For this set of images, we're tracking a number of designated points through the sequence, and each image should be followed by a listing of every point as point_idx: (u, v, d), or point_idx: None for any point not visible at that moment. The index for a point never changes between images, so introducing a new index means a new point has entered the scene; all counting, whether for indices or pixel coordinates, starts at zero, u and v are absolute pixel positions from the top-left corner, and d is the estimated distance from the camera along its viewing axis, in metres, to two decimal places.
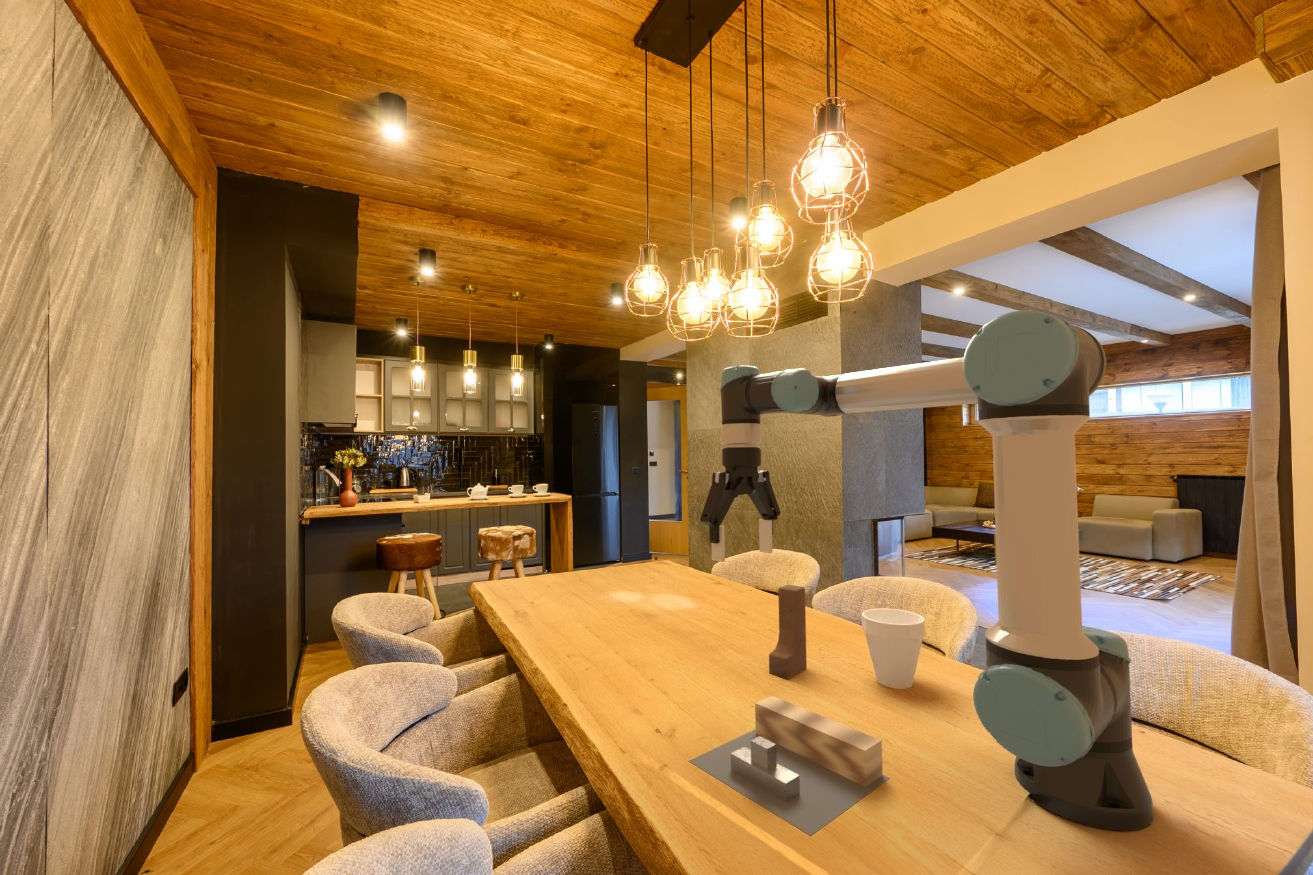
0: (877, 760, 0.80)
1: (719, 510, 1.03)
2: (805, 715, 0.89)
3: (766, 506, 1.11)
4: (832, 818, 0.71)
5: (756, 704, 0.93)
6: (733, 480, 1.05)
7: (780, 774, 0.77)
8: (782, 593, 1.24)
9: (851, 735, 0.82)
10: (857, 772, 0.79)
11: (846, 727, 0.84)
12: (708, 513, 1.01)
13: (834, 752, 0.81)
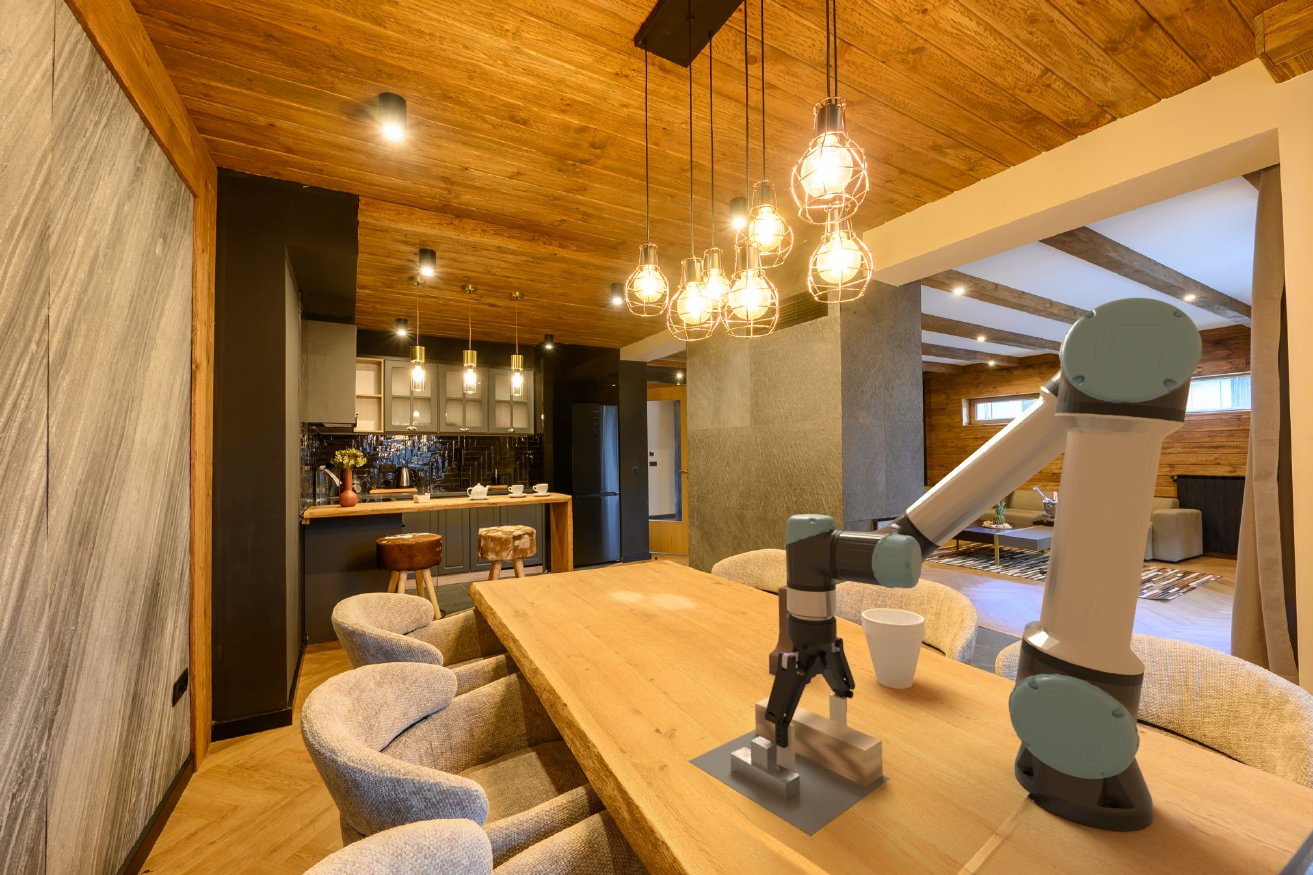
0: (877, 760, 0.80)
1: (787, 703, 0.82)
2: (805, 715, 0.89)
3: (840, 683, 0.90)
4: (832, 818, 0.71)
5: (756, 704, 0.93)
6: (804, 662, 0.84)
7: (780, 774, 0.77)
8: (782, 593, 1.24)
9: (851, 735, 0.82)
10: (857, 772, 0.79)
11: (846, 727, 0.84)
12: (775, 712, 0.81)
13: (834, 752, 0.81)
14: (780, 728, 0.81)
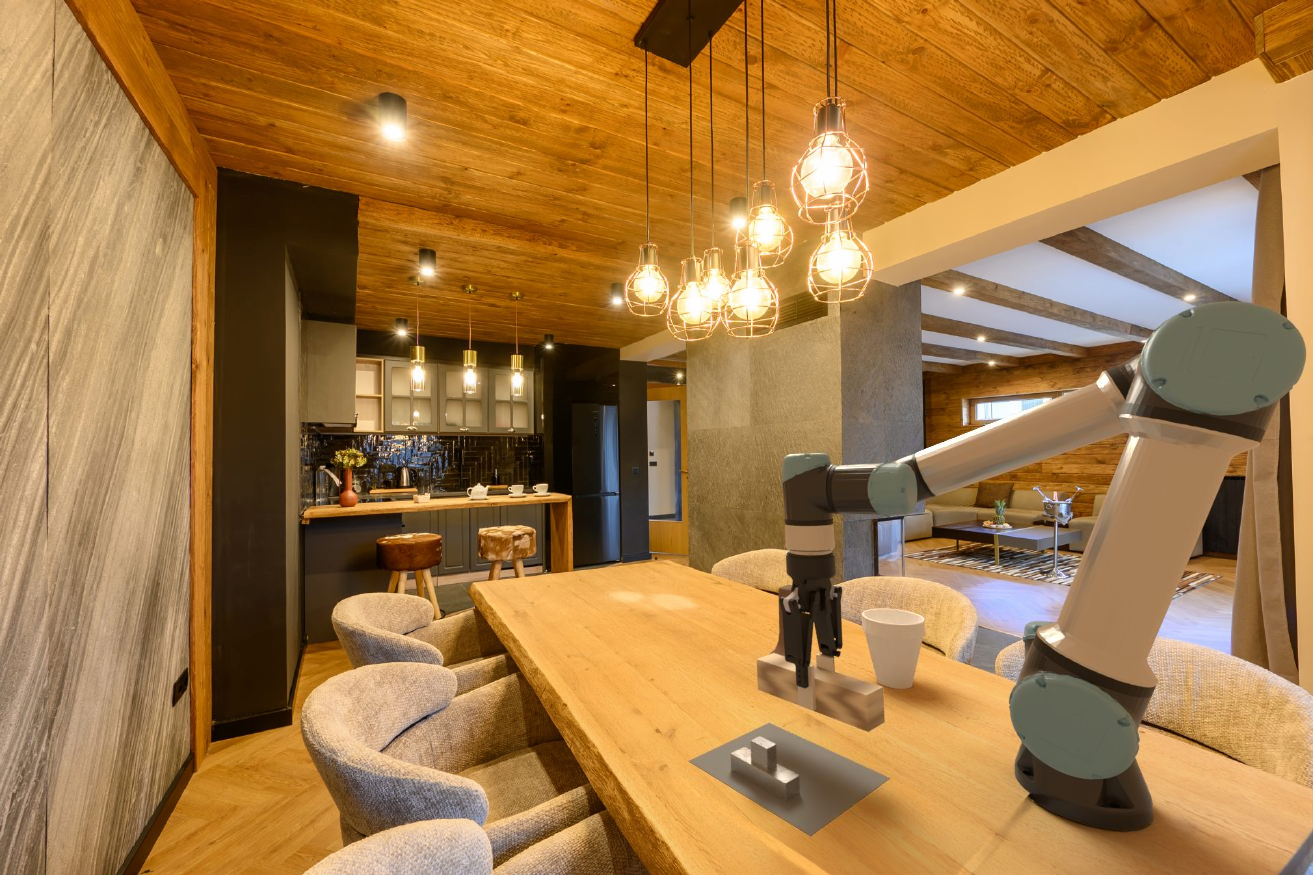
0: (879, 706, 0.80)
1: (802, 645, 0.85)
2: None
3: (830, 635, 0.88)
4: (832, 818, 0.71)
5: (758, 660, 0.93)
6: (805, 597, 0.85)
7: (780, 774, 0.77)
8: (782, 593, 1.24)
9: (852, 683, 0.82)
10: (859, 718, 0.79)
11: (847, 677, 0.84)
12: (793, 654, 0.83)
13: (836, 700, 0.81)
14: (800, 669, 0.84)
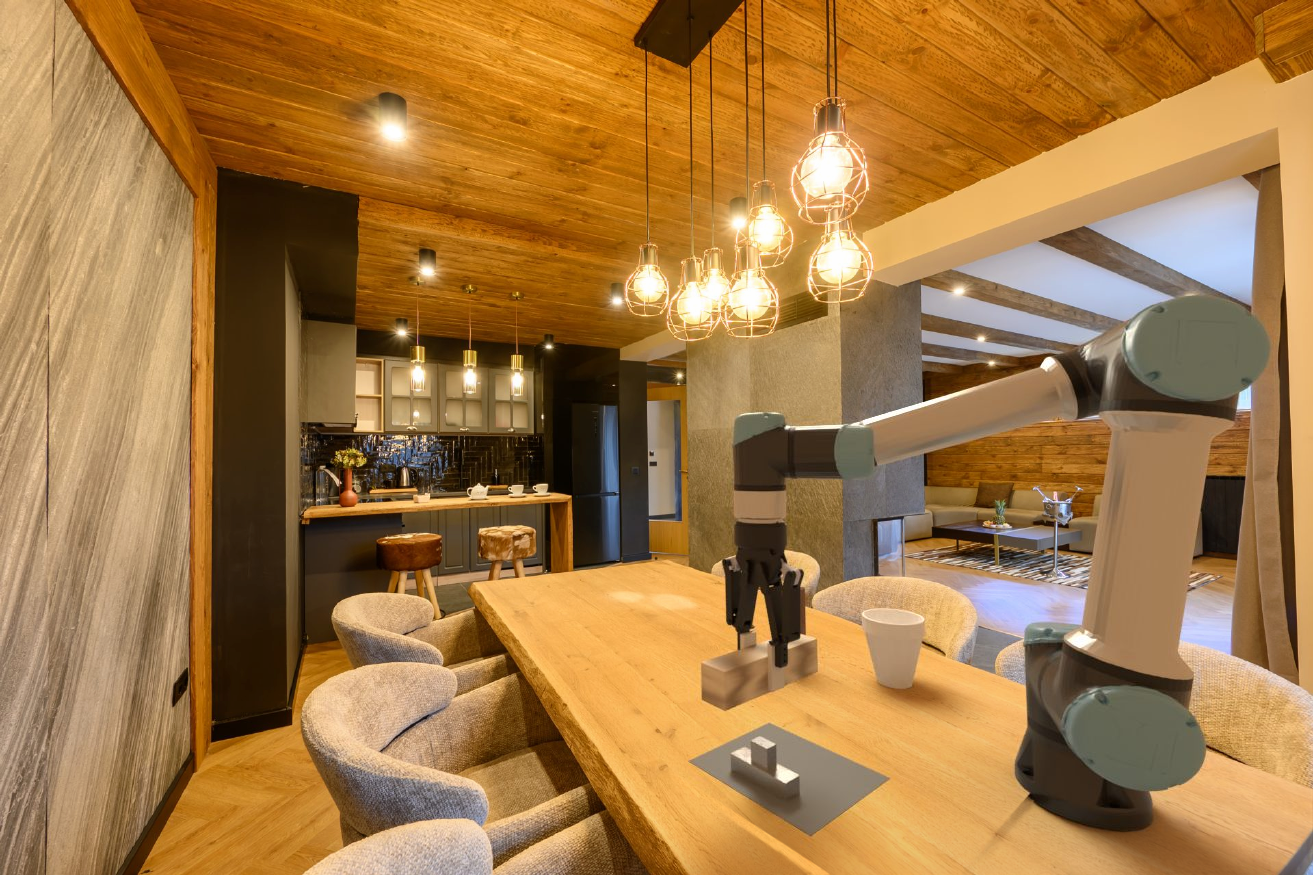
0: (717, 687, 0.73)
1: None
2: None
3: (770, 618, 0.77)
4: (832, 818, 0.71)
5: None
6: (739, 563, 0.82)
7: (780, 774, 0.77)
8: None
9: (733, 661, 0.76)
10: None
11: (749, 660, 0.76)
12: None
13: None
14: None
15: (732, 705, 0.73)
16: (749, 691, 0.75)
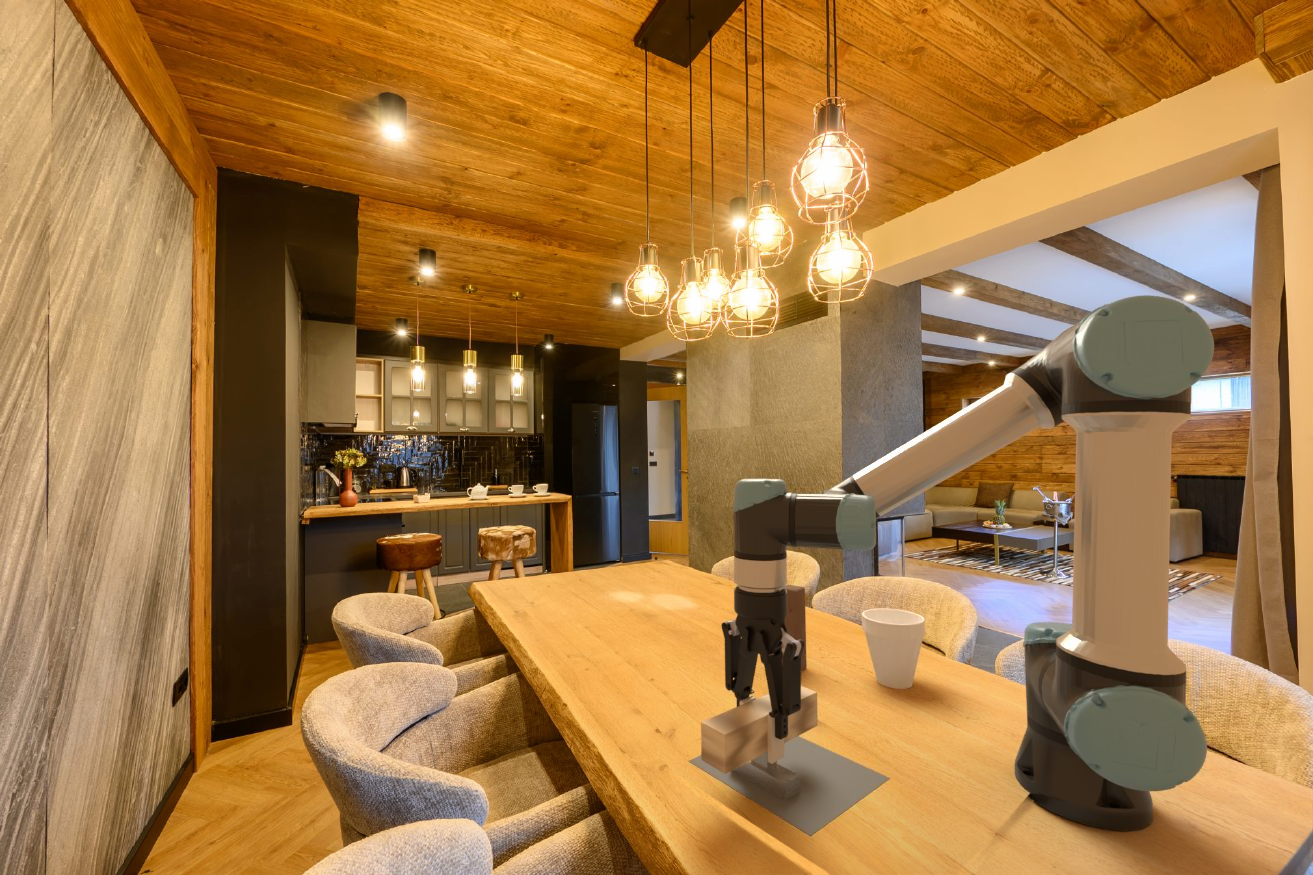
0: (718, 749, 0.72)
1: None
2: None
3: (770, 689, 0.77)
4: (832, 818, 0.71)
5: None
6: (739, 628, 0.82)
7: (780, 774, 0.77)
8: None
9: (733, 720, 0.75)
10: None
11: (750, 720, 0.75)
12: None
13: None
14: None
15: (732, 767, 0.72)
16: (749, 751, 0.74)
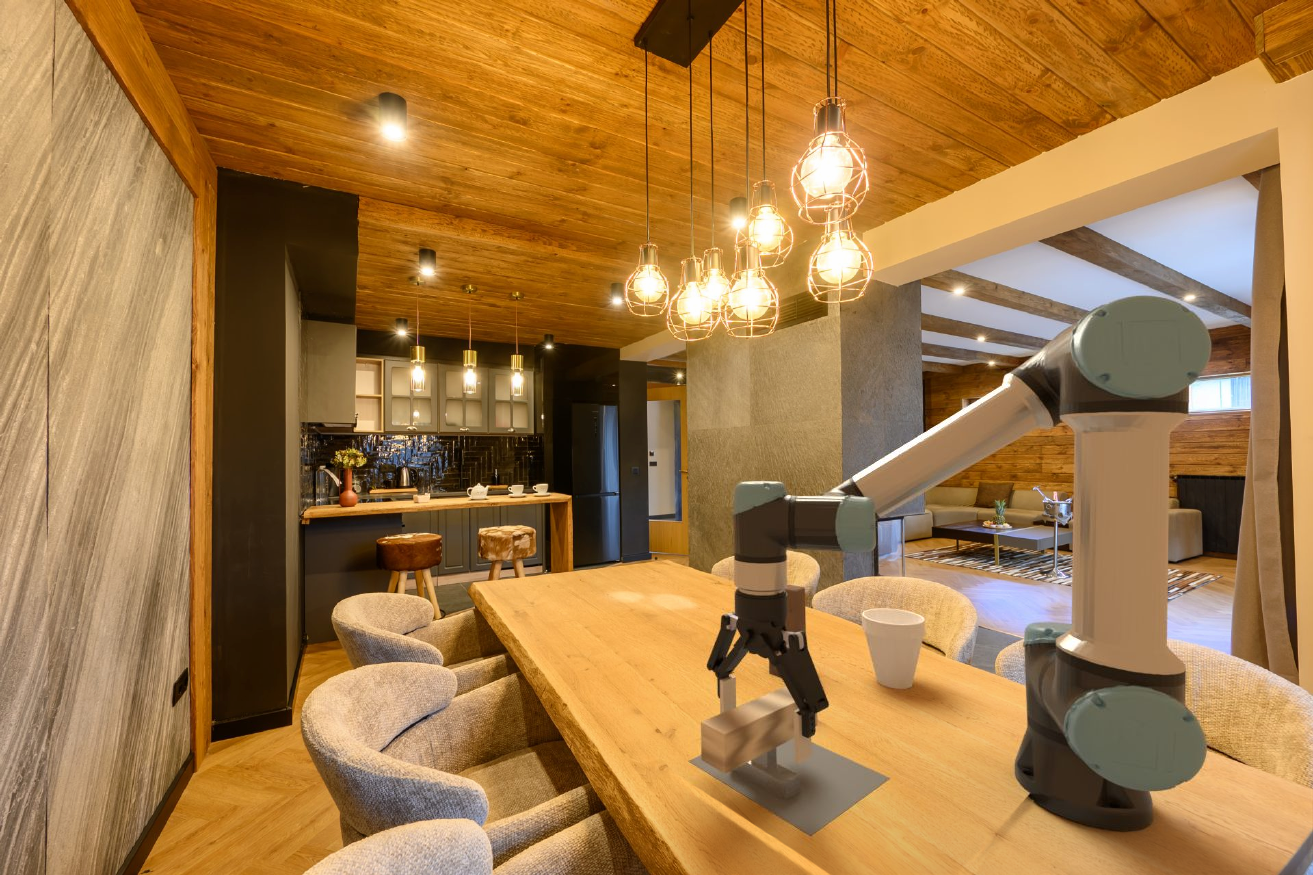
0: (717, 749, 0.72)
1: None
2: (772, 703, 0.80)
3: (790, 688, 0.74)
4: (832, 818, 0.71)
5: None
6: (738, 630, 0.82)
7: (780, 774, 0.77)
8: None
9: (733, 720, 0.75)
10: None
11: (750, 720, 0.75)
12: None
13: None
14: None
15: (732, 767, 0.72)
16: (749, 751, 0.74)
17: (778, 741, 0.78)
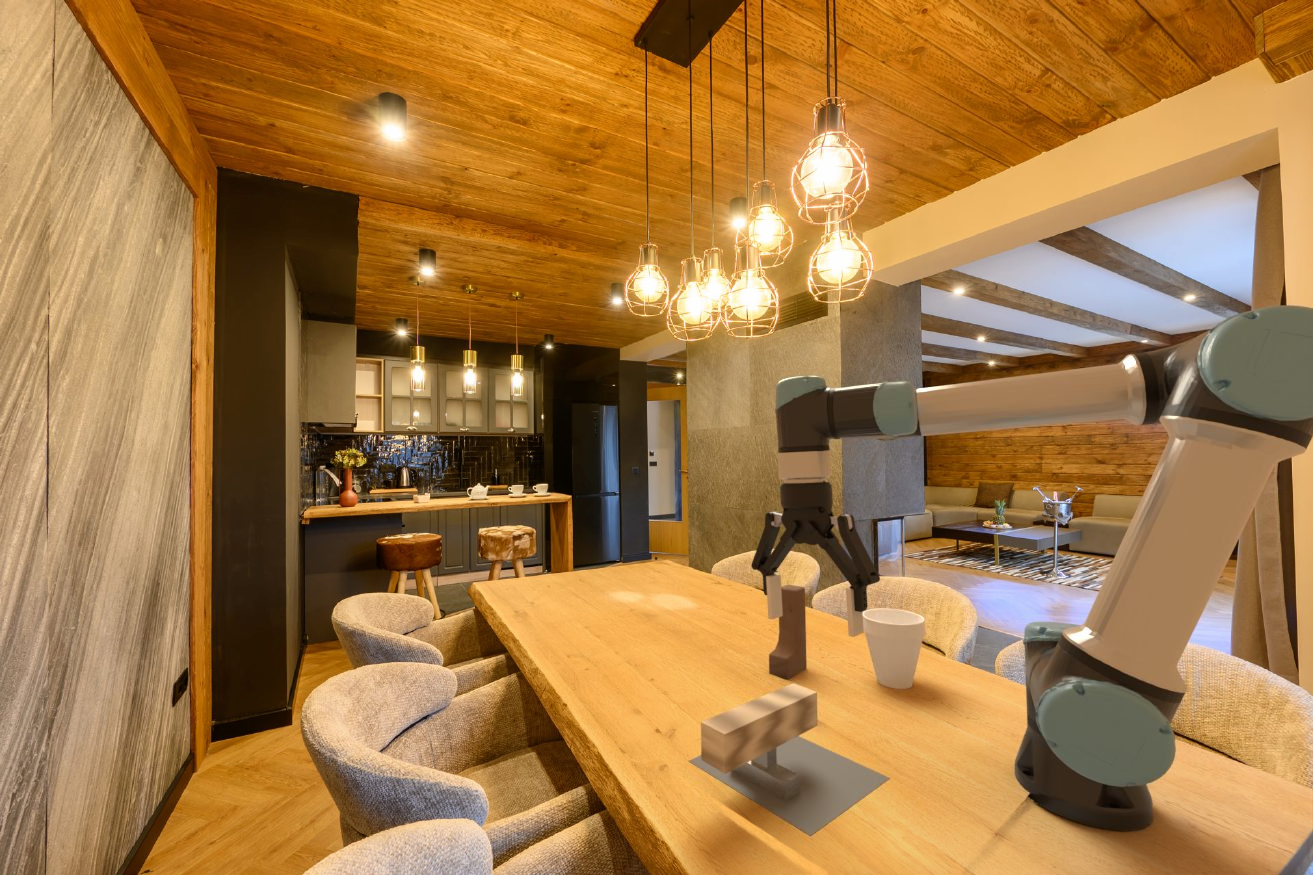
0: (717, 749, 0.72)
1: None
2: (772, 703, 0.80)
3: (840, 567, 0.77)
4: (832, 818, 0.71)
5: None
6: (783, 523, 0.85)
7: (780, 774, 0.77)
8: (782, 593, 1.24)
9: (733, 720, 0.75)
10: None
11: (750, 720, 0.75)
12: None
13: None
14: None
15: (732, 767, 0.72)
16: (749, 751, 0.74)
17: (778, 741, 0.78)
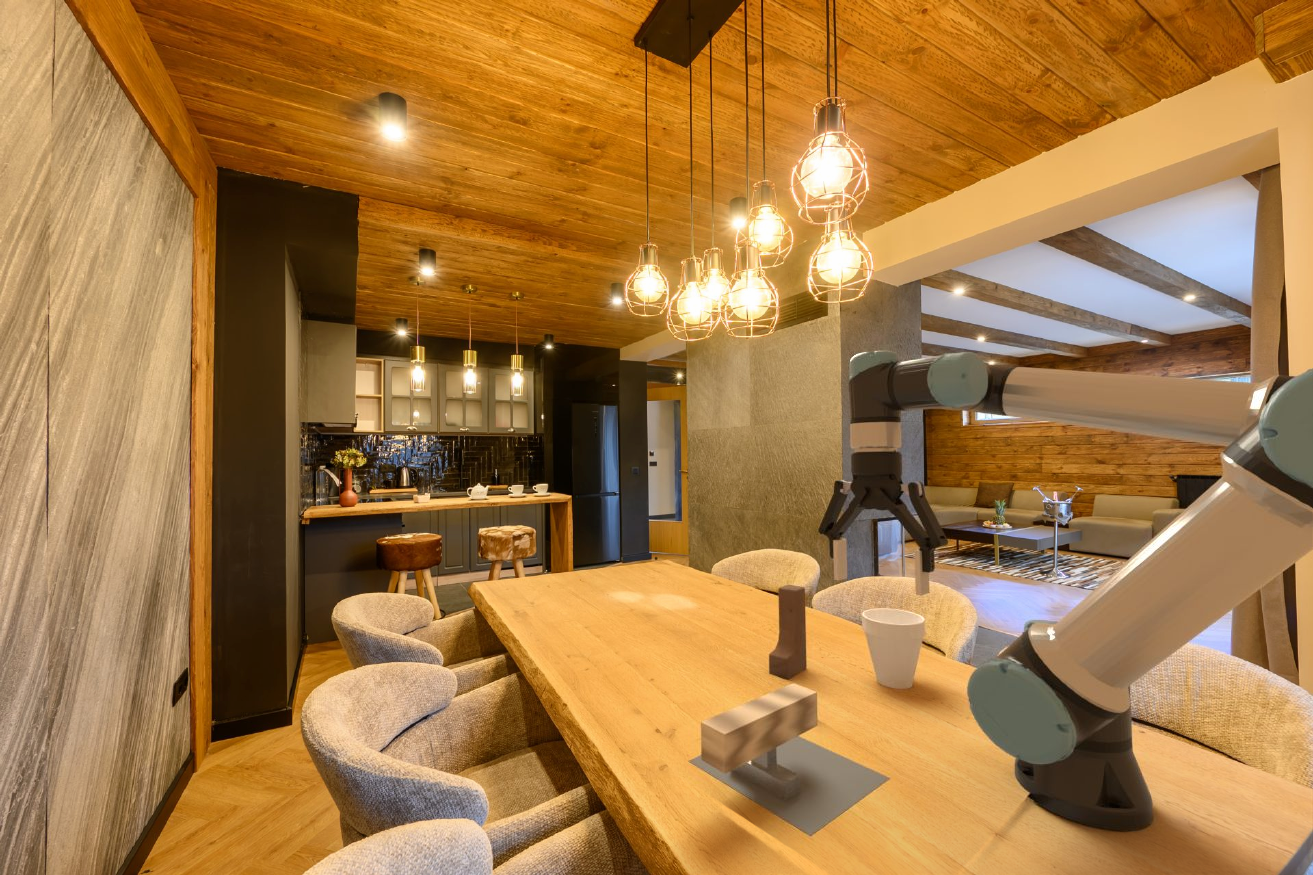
0: (717, 749, 0.72)
1: None
2: (772, 703, 0.80)
3: (910, 530, 0.82)
4: (832, 818, 0.71)
5: None
6: (853, 490, 0.90)
7: (780, 774, 0.77)
8: (782, 593, 1.24)
9: (733, 720, 0.75)
10: None
11: (750, 720, 0.75)
12: None
13: None
14: None
15: (732, 767, 0.72)
16: (749, 751, 0.74)
17: (778, 741, 0.78)
